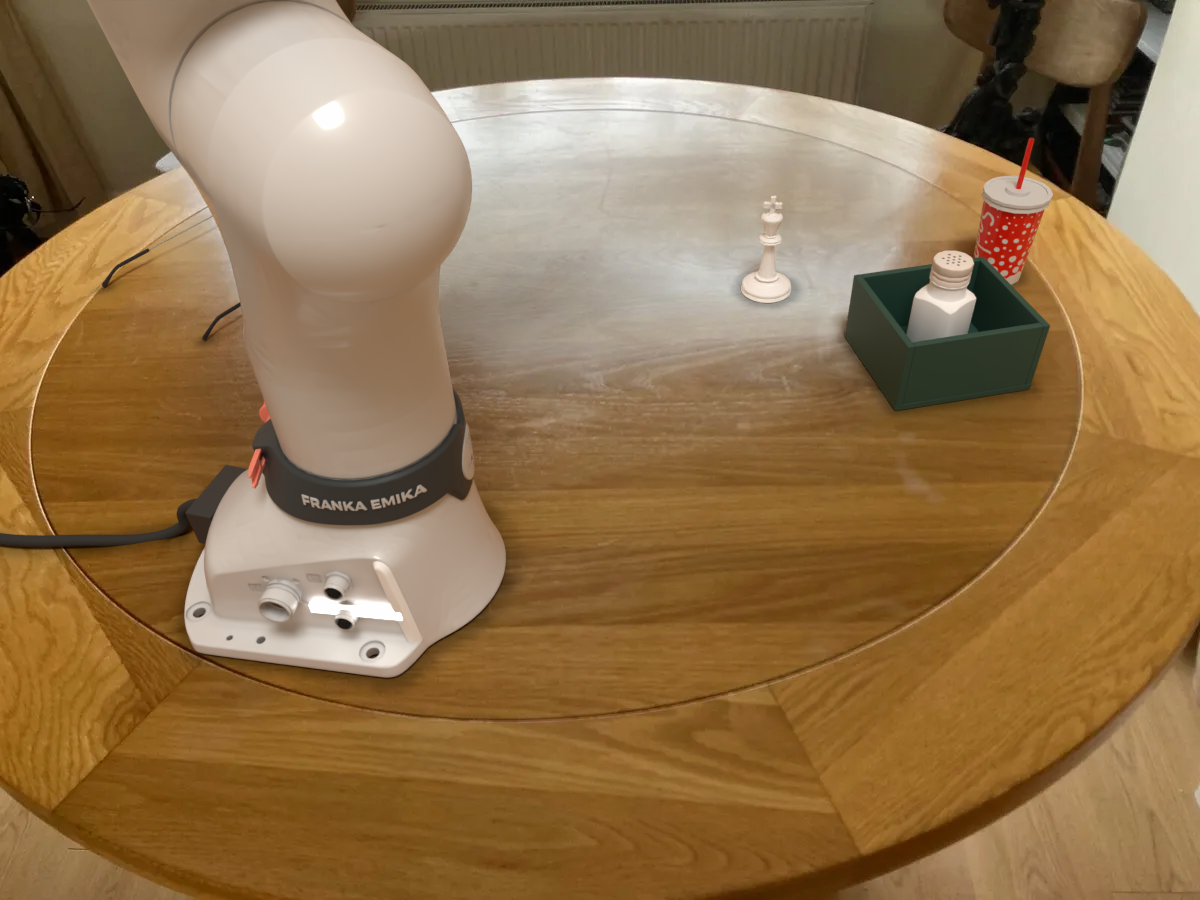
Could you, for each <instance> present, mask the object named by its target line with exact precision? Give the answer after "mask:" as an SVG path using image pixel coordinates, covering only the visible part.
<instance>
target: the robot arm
mask: <svg viewBox="0 0 1200 900" xmlns="http://www.w3.org/2000/svg"><path fill="white" fill-rule="evenodd" d="M86 2H87V4H88V6H89V9H91V12H92V13H93V16H94V17H95V19H96V21H97V22H98V25H99V27H100V29H101V30H102V32H103V34H104V36H105V38H106V40H107V42H108V44H109V46H110V47H111V50H112V51H113V53H114V55H115V57H116V59H117V61H118V63H119V65H120V67H121V68H122V70H123V73H124V74H125V76H126V78H127V80H128V81H129V83H130V85H131V87H132V89H133V91H134V93H135V94H136V97H137V98H138V100H139V102H140V104H141V106H142V108H143V110H144V111H145V113H146V115H147V116H148V118H149V121H150V123H151V124H152V126H153V129H155V131H156V132H157V134H158V135H159V137H160V138H161V139H162V141H163V142H164V143H165V145H166V146H167V147H168V149H169V150H170V152H171V153H172V154H173V156H174V157H175V158H176V160H177V161H178V163H179V164H180V165H181V166H182V168H183V169H184V171H185V172H186V173H187V175H188V176H189V178H190V179H191V180H192V182H193V183H194V185H195V186H196V188H197V189H196V190H198V192H199V194H200V196H201V197H202V199H203V201H204V203H205V204H206V206H207V208H208V210H209V212H210V214H211V216H213V217H212V218H213V219H214V221H215V224H216V227H217V229H218V230H219V233H220V235H221V238H222V242H223V244H224V246H225V249H226V253H227V255H228V259H229V262H230V266H231V270H232V274H233V278H234V281H235V285H236V290H237V294H238V298H239V302H240V304H241V307H240V309H241V314H242V320H243V325H242V327H243V328H242V341H243V344H244V348H245V350H246V353H247V356H248V360H249V362H250V365H251V367H252V368H251V369H252V370H253V373H254V376H255V379H256V382H257V385H258V387H259V390H260V393H261V395H262V398H263V404H262V406H261V407H260V408H259V411H258V416H259V418H260V420H261V421H262V422H263V424H262V425H261V426H260V427H259V428H258V429H257V430H256V433H255V436H254V437H253V441H252V445H251V446H252V449H253V454H252V457H251V460H250V462H249V466H248V468H245V467H240V466H234V465H228V464H225V465H223V467H222V468H221V470H220V471H218V473H217V474H216V476H215V477H213V479H212V480H211V481H210V483H209V484H208V485H207V486H206V487H205V488H204V489H203V491H202V492H201V493H200V494H199V496H198V497H196V498H192V499H191V498H190V499H188V500H186V501H184V502H182V503H181V504H180V505H178V507H177V510H176V518H177V522H176V523H175V524H173V525H171V526H169V527H167V528H163V529H160V530H156V531H152V532H151V531H150V532H143V533H131V534H56V535H55V534H48V535H47V534H45V535H44V534H39V535H37V534H35V535H34V534H14V533H13V534H12V533H5V532H4V533H3V532H0V546H5V547H19V548H65V547H66V548H67V547H69V548H71V547H121V546H122V547H123V546H131V545H136V544H142V543H146V542H147V543H148V542H155V541H164V540H168V539H173V538H177V537H179V536H180V535H182V534H184V533H186V532H187V531H189V529H190V528H191V529H192V531H193V533H194V535H195V537H196V539H197V541H198V543H200V544H201V545H202V544H203V545H205V546H204V548H203V549H202V551H201V553H200V556H199V558H198V560H197V562H196V564H195V566H194V569H193V572H192V574H191V577H190V581H189V583H188V584H189V585H188V588H187V591H186V597H185V601H184V603H185V604H184V610H183V612H184V613H183V614H184V616H183V617H184V626H185V631H186V633H187V637H188V639H189V642H190V645H191V647H192V649H193V651H195V652H196V653H199V654H203V655H210V656H216V657H224V658H231V659H232V658H233V659H239V660H246V661H254V662H263V663H269V664H277V665H284V666H292V667H299V668H307V669H308V668H309V669H314V670H322V671H329V672H330V671H331V672H339V673H347V674H354V675H361V676H367V677H368V676H369V677H375V678H376V677H377V678H383V679H387V678H388V679H389V678H390V679H391V678H396V677H398V676H400V675H402V674H403V673H405V672H406V671H407V670H408V669H409V668H410V667H412V665H414V663H415V662H417V660H418V659H419V658H420V657H421V656H422V655H423V653H425V651H426V650H427V649H428V648H430V646H432V645H433V644H435V643H437V642H438V641H439V640H441V639H444V638H445V637H447V636H449V635H451V634H453V633H454V632H456V631H458V630H459V629H461V628H463V627H464V626H465V625H467V624H469V623H470V622H471V621H472V620H474V619H475V618H476V617H477V616H478V615H479V614H480V613H482V612H483V610H484V609H485V608H486V607H487V606H488V605H489V604H490V602H491V601H492V599H493V598H494V597H495V595H496V594H497V592H498V590H499V588H500V586H501V584H502V581H503V579H504V576H505V572H506V566H507V551H506V544H505V542H504V539H503V537H502V535H501V533H500V531H499V529H498V528H497V527H496V525H495V524H494V522H493V520H492V519H491V517H490V516H489V514H488V512H487V510H486V508H485V505H484V503H483V500H482V498H481V496H480V493H479V491H478V488H477V485H476V483H475V479H474V475H475V457H474V450H473V443H472V437H471V432H470V426H469V423H468V422H467V420H466V416H465V411H464V408H463V404H462V400H461V398H460V396H459V394H458V393H457V391H456V390H455V388H453V384H452V377H451V372H450V371H451V370H450V367H449V366H450V365H449V361H448V357H447V356H448V354H447V348H446V344H445V338H444V332H443V327H442V322H441V321H442V319H441V313H440V312H441V311H440V276H441V267H442V265H443V263H444V262H445V261H446V260H447V258H448V257H449V256H450V255H451V253H452V252H453V250H454V249H455V247H456V245H457V244H458V243H459V240H460V238H461V236H462V234H463V232H464V229H465V228H466V224H467V221H468V218H469V215H470V211H471V205H472V197H473V175H472V168H471V162H470V160H469V159H470V158H469V155H468V153H467V150H466V147H465V145H464V143H463V140H462V138H461V137H460V135H459V133H458V132H457V130H456V128H455V126H454V125H453V123H452V121H451V120H450V118H449V117H448V115H447V113H446V112H445V110H444V109H443V107H442V106H441V104H440V103H439V101H438V100H437V99H436V98H435V96H434V95H433V93H432V92H431V91H430V89H429V88H428V87H427V85H426V84H425V82H424V81H423V80H422V78H421V77H420V76H419V75H418V73H417V72H415V70H414V69H412V68H411V67H410V66H409V64H408V63H407V62H405V61H403V60H402V59H401V58H400V57H398V56H397V55H395V54H394V53H392V52H391V51H389V50H388V49H387V48H385V47H383V46H382V45H381V44H379V43H378V42H376V41H375V40H374V39H372V38H370V37H369V35H366V34H365V33H363V32H362V31H361V30H360V29H358V28H357V27H355V26H354V25H353V24H352V22H351V21H350V19H349V18H348V17H347V15H346V14H345V12H344V10H343V9H342V8H341V6H340V4H339V3H338V2H337V0H86ZM374 655H377V656H376V657H373V658H372V656H374Z"/></svg>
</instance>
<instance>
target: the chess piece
mask: <svg viewBox="0 0 1200 900" xmlns="http://www.w3.org/2000/svg"><path fill="white" fill-rule="evenodd" d="M763 209H769V210H768V211H765V212H763V213H762V214H761V216H760V219H761V223H762V226H763V231H764V233H762V234H760V235H759V237H758V242H759V243H760V244H762V245H763V251H762V255H761V256H762V257H761V260H760V266H759V269H758V271H752V272H750V273H749V274H747V275H746V276H744V277H743V279H742V280H741V281H742V282H741V286H740V291H741V293H742V295H743V296H745V297H746V298H747V299H749V300H750V301H753V302H757V303H761V304H763V303H764V304H773V303H778V302H781V301H783V300H785V299H787V298H788V297H790V295H791V293H792V283H791V280H790V279H789V278H788V276H786V275H785V274H783V273H781V272H778V271H777V268H776V267H777V266H776V246H778V245H779V244H781V243H782V237H781V235H780V234H778V233H777V232H778V231H779V228H780V226H781V224H782V222H783V220H784V216H783V215H782V213H781V212H779V211H776V210H782V209H783V202H782V201H781V202H780V201H779V202H778V201H777V195H771V196H770V201H763Z"/></svg>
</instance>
